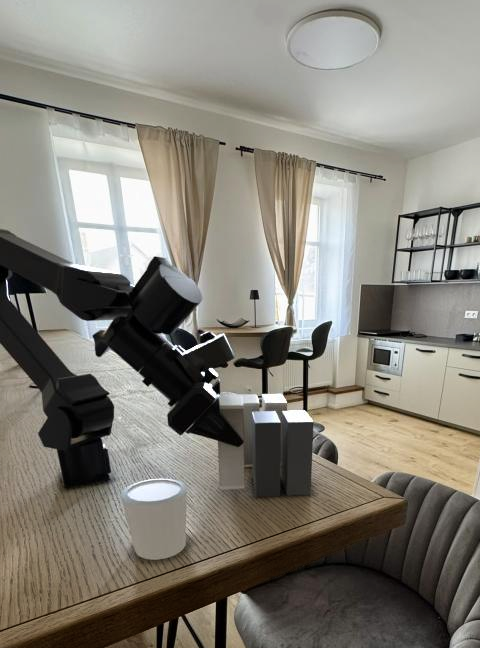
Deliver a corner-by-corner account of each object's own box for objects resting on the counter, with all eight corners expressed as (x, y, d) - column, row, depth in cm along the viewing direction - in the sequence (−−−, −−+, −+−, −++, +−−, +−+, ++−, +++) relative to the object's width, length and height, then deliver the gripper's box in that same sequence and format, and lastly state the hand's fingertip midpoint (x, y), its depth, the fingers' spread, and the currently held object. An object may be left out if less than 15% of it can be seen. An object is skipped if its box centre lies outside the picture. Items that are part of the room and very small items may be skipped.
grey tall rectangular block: (239, 467, 70) (237, 403, 66) (238, 453, 76) (236, 394, 72) (260, 466, 70) (259, 403, 66) (256, 452, 76) (256, 394, 72)
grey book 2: (287, 495, 59) (288, 422, 55) (281, 478, 65) (282, 410, 61) (310, 494, 60) (313, 421, 56) (302, 477, 66) (305, 410, 62)
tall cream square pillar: (219, 489, 57) (216, 405, 53) (220, 470, 64) (217, 394, 59) (244, 488, 58) (243, 405, 53) (242, 470, 64) (241, 394, 60)
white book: (265, 466, 70) (265, 402, 66) (262, 452, 77) (261, 394, 73) (286, 465, 71) (287, 402, 67) (280, 452, 77) (281, 393, 73)
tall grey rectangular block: (255, 497, 59) (255, 423, 55) (252, 479, 65) (251, 411, 61) (280, 496, 59) (280, 422, 55) (275, 478, 65) (275, 411, 61)
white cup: (202, 536, 49) (198, 482, 46) (169, 568, 43) (163, 508, 40) (153, 526, 51) (147, 474, 48) (115, 555, 45) (106, 497, 42)
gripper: (189, 311, 43) (290, 412, 49) (199, 309, 60) (273, 384, 66) (121, 387, 45) (226, 476, 51) (149, 364, 62) (225, 432, 68)
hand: (240, 436), depth 59 cm, fingers closed on tall cream square pillar, 7 cm apart
